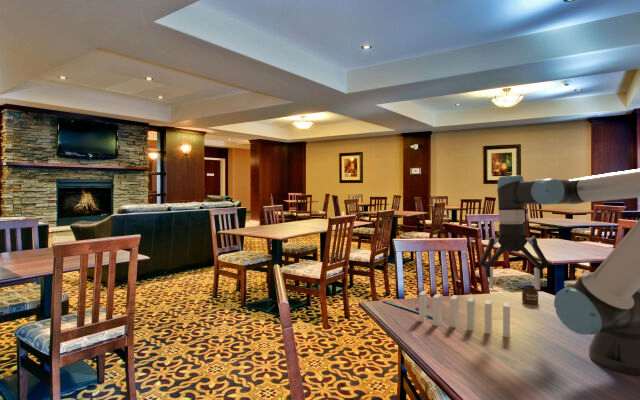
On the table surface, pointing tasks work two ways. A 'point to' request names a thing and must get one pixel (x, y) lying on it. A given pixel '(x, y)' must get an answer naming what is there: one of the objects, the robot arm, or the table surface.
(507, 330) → the domino
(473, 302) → the domino
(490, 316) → the domino
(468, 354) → the table surface
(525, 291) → the utensil holder
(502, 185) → the robot arm
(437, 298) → the domino
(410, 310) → the squeegee
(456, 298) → the domino
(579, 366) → the table surface
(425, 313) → the domino
